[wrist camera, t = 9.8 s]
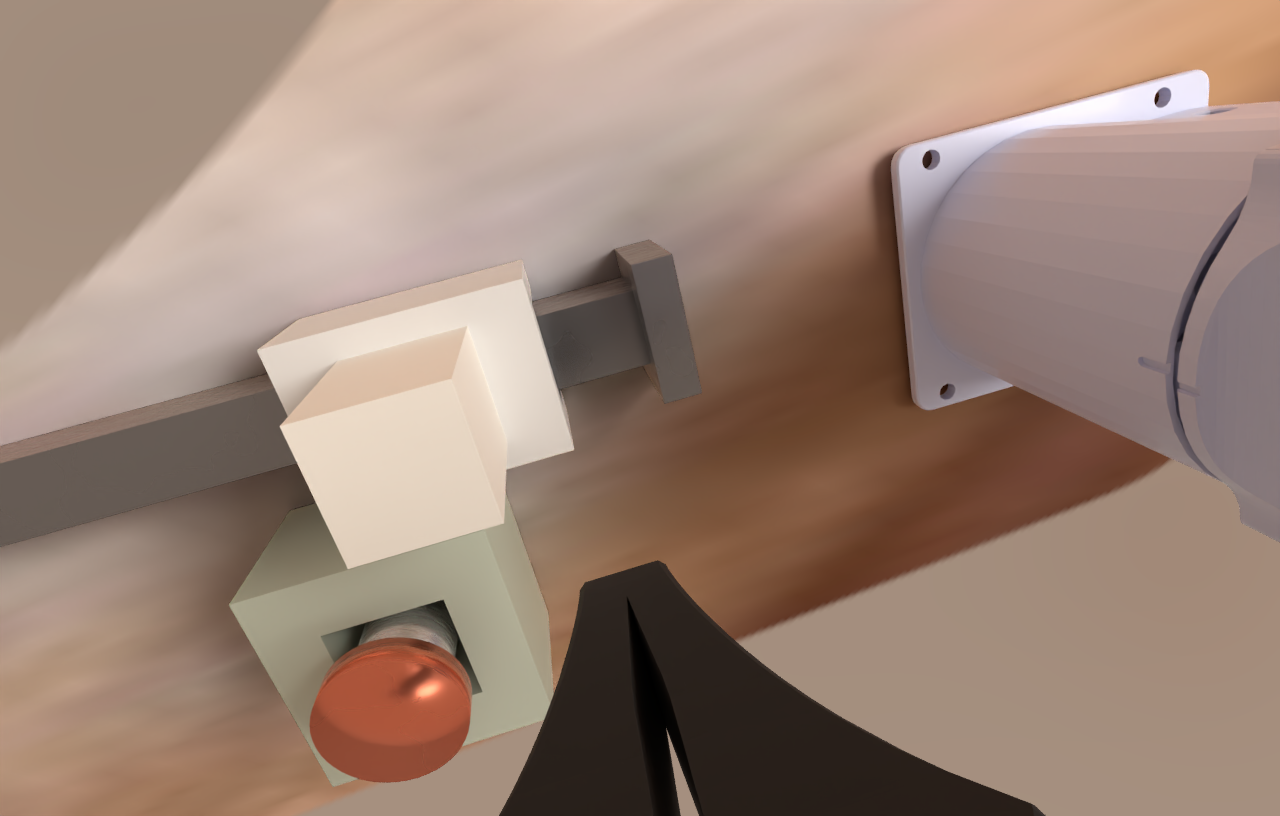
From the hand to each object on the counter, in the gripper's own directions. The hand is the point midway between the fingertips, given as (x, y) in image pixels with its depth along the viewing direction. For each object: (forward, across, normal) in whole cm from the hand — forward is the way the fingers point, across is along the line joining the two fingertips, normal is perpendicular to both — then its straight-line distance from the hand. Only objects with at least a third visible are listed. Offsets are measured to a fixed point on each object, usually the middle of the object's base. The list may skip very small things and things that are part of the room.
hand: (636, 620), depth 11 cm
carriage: (+10, +3, -2) cm, 11 cm away
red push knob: (+9, +6, +4) cm, 11 cm away
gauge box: (+10, +6, +4) cm, 12 cm away
